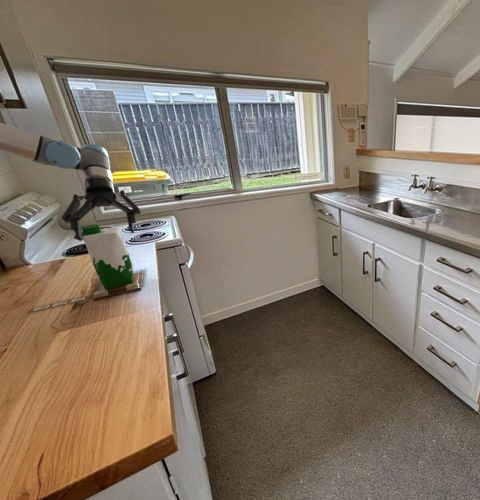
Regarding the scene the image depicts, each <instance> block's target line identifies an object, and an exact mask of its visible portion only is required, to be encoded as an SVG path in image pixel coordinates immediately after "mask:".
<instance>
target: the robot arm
mask: <svg viewBox="0 0 480 500" xmlns="http://www.w3.org/2000/svg"><path fill="white" fill-rule="evenodd" d="M0 152H1V153H5V154H9V155H13V156H17V157H20V158H24V159H28V160H31V162H33V163H37V164H41V165H45V166H51V167H52V166H53V167H57V168H59V169H66V170H68V169H72V170H76V171H77V170H79V171H82V173H83V181H84V189H85V194H84V195H78V194H73V195H72V201H70V203H69V205H68V207H67V209H65V211H64V213H63V214H62V216H61V219H62V220H63V222H64V223H65V224H69V225H70V230H71V231H73V232H74V233H75V238H76V239H77V240H78V241H79V242H82V241H83V242H84V240H83V231H82V223H81V220H82V219H83V218H85V216H86V215H87V214H89V212H90V211H91V210H94V209H95V208H96V207H97V208H102V207H109V206H110V205H111V206H112V207H114V208H117V209H119V210H120V211H122V212H124V213H125V214H126V219H127V223H128V229H129V232H130V233H131V234H135V229H134V224H136V223H137V218H136V215H140V214H142V212H141V210H140V207H138V205H136V203H134V202H133V201H132V200H131V199H130V198H129V196H127V194H126V192H125V190H123V189H121V190H120V191H119V192H115V188H114V184H113V183H114V181H113V177H112V171H111V164H110V162H111V161H110V157H109V154H108V151H107V150H106V148H104V147H103V146H101V145H99V144H97V143H91V144H90V143H89V144H88V143H85V144H83V145H82V146H81V147H77V146H75V145H72V144H70V143H68V142H65V141H63V140H62V141H61V140H56V139H54V138H51V137H47V136H43V135H41V134H37V133H35V132H31V131H29V130H25V129H22V128H19V127H16V126H12V125H10V124H6V123H3V122H0ZM117 198H119V199H121V200H123V201H124V202H125V204H127V205H128V206H129V207H128V206H126V205H125V204H123V203H121V202H120V201H118V200H116V199H117ZM81 204H83V205H81Z"/></svg>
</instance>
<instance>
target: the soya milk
mask: <svg viewBox="0 0 480 500" xmlns="http://www.w3.org/2000/svg"><path fill="white" fill-rule="evenodd" d="M81 230H82V239H83V242H84V244H85V247H86V250H87V252H88V255H89V257H90V259H91V262H92V264H93V267H94V270H95V272H96V275H97V277H98V279H99V281H100V282H101V283H102V285H103V286H104V288H105V290H108V289H112V288H117V287H121V286H125V285H129V284H133V273H134V269H133V264H132V259H131V258H130V257H131V256H130V254H129V251H128V248H127V246H126V243H125V240H124V237H123V235H122V233H121V231H120V228H119V227H118V226H115V227H104V228H100V226H99V224H89V225H84V226H81Z"/></svg>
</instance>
